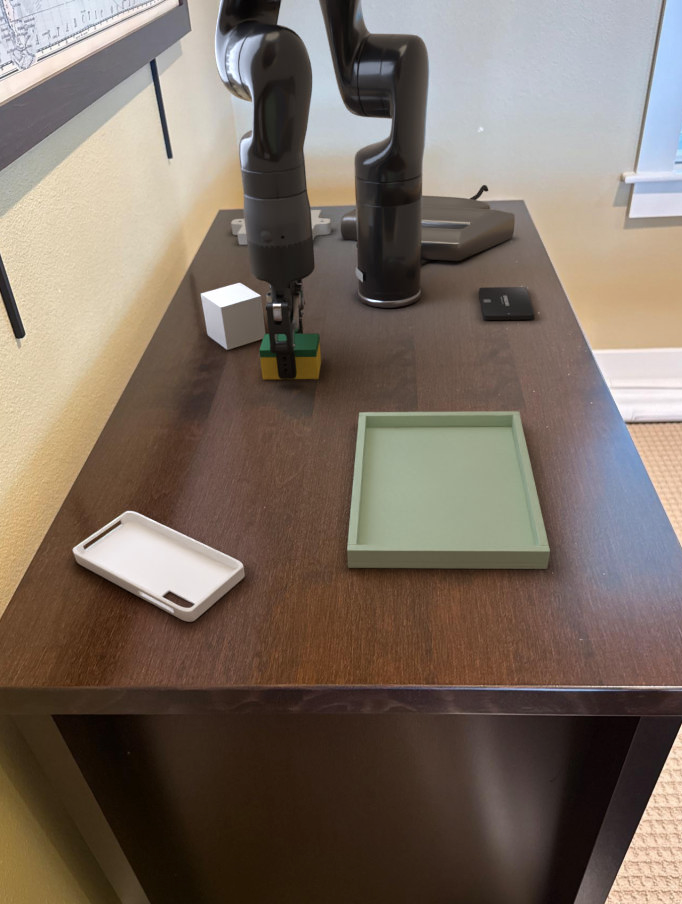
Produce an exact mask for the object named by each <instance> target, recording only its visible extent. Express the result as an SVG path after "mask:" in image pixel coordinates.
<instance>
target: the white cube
mask: <svg viewBox="0 0 682 904" xmlns="http://www.w3.org/2000/svg"><path fill="white" fill-rule="evenodd" d="M200 297H201V298H200V300H201V304H202V310H203V316H204V323H205V328H206V334H207V336H208V337H209V338H210V339H212V340H213V341H214V342H216V343H217V344H218V345H220V346H221V347H223V348H224V349H225V350H226V351H228V350H232V349H234V348H238V347H241V346H245V345H248V344H251V343H254V342H257V341H260V340H263V338H264V334H266V326H265V318H264V310H263V309H264V308H263V302H262V295H260V294H259V293H257V292H256V291H254V290H253V289H251V288H249V287H248V286H247V285H244V284H243V283H241V282H236V283H234V284H230V285H226V286H223V287H218V288H216V289H212V290H208V291H204V292H201V293H200Z"/></svg>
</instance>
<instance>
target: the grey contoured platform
mask: <svg viewBox="0 0 682 904" xmlns="http://www.w3.org/2000/svg"><path fill="white" fill-rule="evenodd" d="M515 223H516V217H515V214H514V213H513V212H508V211H503V210H499V209H491V205H490V204H489V202H485V201H481V200H478V199H477V200H473V199H470V198H466V197H459V196H458V197H457V196H442V195H441V196H439V195H423V194H422V235H421V260H423V259H432V261H433V260H435V261H450V262H458V261H459V262H460V261H462V260H465V259H467V258H469V257H472V256H475V255H476V254H479V253H481V252H483V251H485V250H488V249H490V248H492V247H495V246H497V245H499V244H502V243H504V242H506V241H509V240H511V239H512V238H513V236H514V232H515ZM340 233H341V237H342V239H344V240H346V241H347V240H348V241H357V225H356V208H354V209H353V210H350V211H348V212H347V213H345V214H343V215H342V216H341V219H340Z"/></svg>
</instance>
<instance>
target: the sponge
mask: <svg viewBox="0 0 682 904" xmlns="http://www.w3.org/2000/svg"><path fill="white" fill-rule="evenodd" d="M279 341H287V340H286V335H285V334H279ZM295 344H296V348H295V359H296V370H297V374H296V377H295V378H294V379H293V380H319V377H320V370H321V364H322V353H321V339H320V333H317V332H316V333H303V334H295ZM258 351H259V360H260V367H261V376H262V380H282V379H281V378H279V376H278V368H277V359H276V353H271V350H270V338H269V333H265V334H264V338H263V339H262V341H261V343H260V347H259V350H258Z"/></svg>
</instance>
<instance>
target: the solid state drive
mask: <svg viewBox="0 0 682 904" xmlns="http://www.w3.org/2000/svg"><path fill="white" fill-rule="evenodd" d="M478 295H479V301H480V306H481V307H480V308H481V312H482V318H483V320H484V321H511V320H512V321H513V320H515V321H517V320H518V321H519V320H521V321H523V320H525V321H526V320H534V319H535V315H536V313H535V310H534V307H533V305H532V304H533V303H532V300H531V297H530V293H529V291H528V287H526V286H495V287H494V286H493V287H492V286H491V287H490V286H489V287H488V286H487V287H479V288H478Z"/></svg>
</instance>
